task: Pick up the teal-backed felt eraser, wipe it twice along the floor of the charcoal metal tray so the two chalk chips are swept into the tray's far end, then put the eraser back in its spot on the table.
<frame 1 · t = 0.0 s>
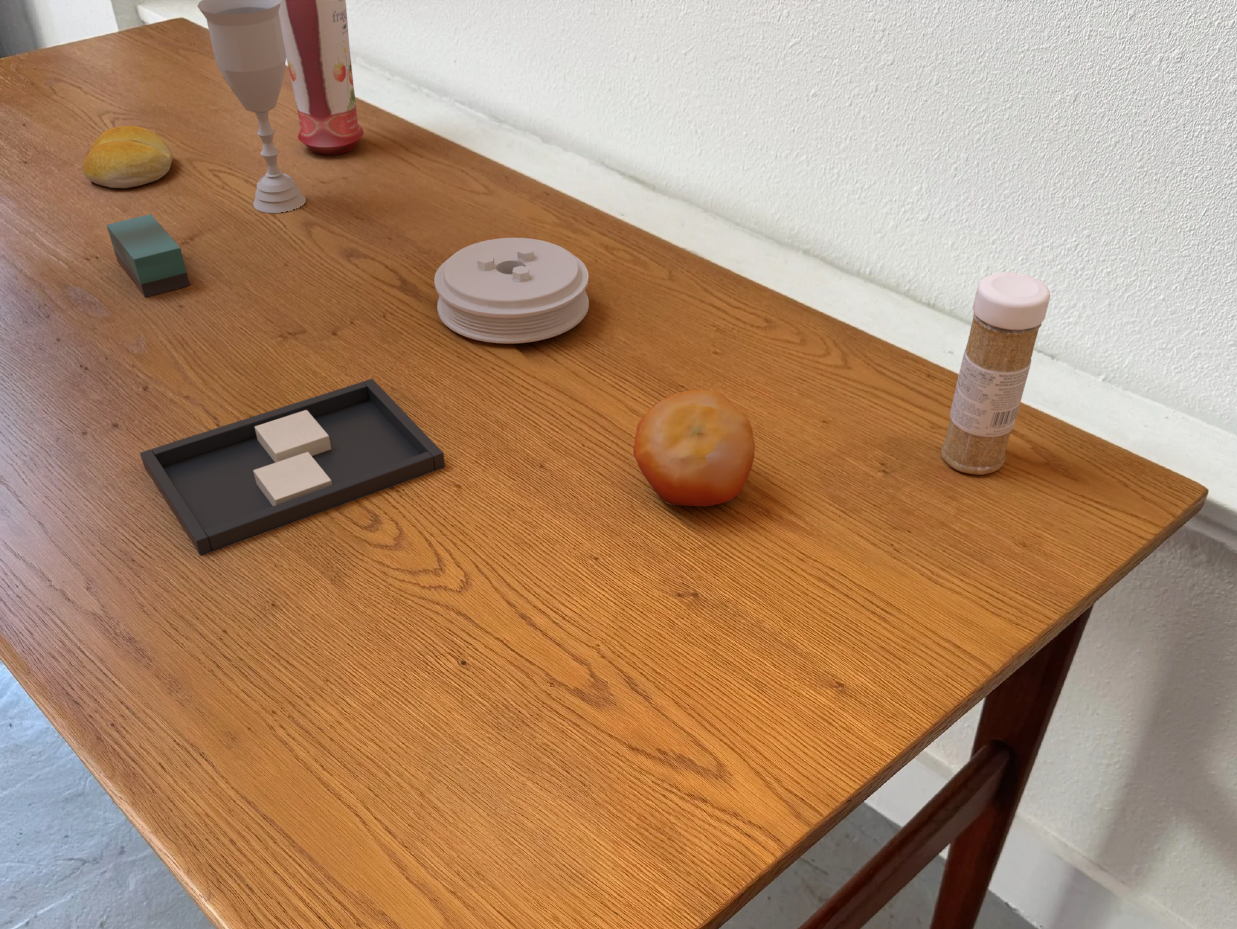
eraser: (153, 273, 105), on the table
chalice: (280, 203, 116), on the table
tray: (296, 472, 83), on the table
lid: (514, 317, 100), on the table
red and white bottle: (333, 148, 126), on the table
chip b: (294, 444, 85), resting on tray
chip a: (295, 489, 81), resting on tray
sprinkles bottle: (970, 461, 85), on the table
fruit: (691, 492, 82), on the table
bread roll: (131, 174, 121), on the table
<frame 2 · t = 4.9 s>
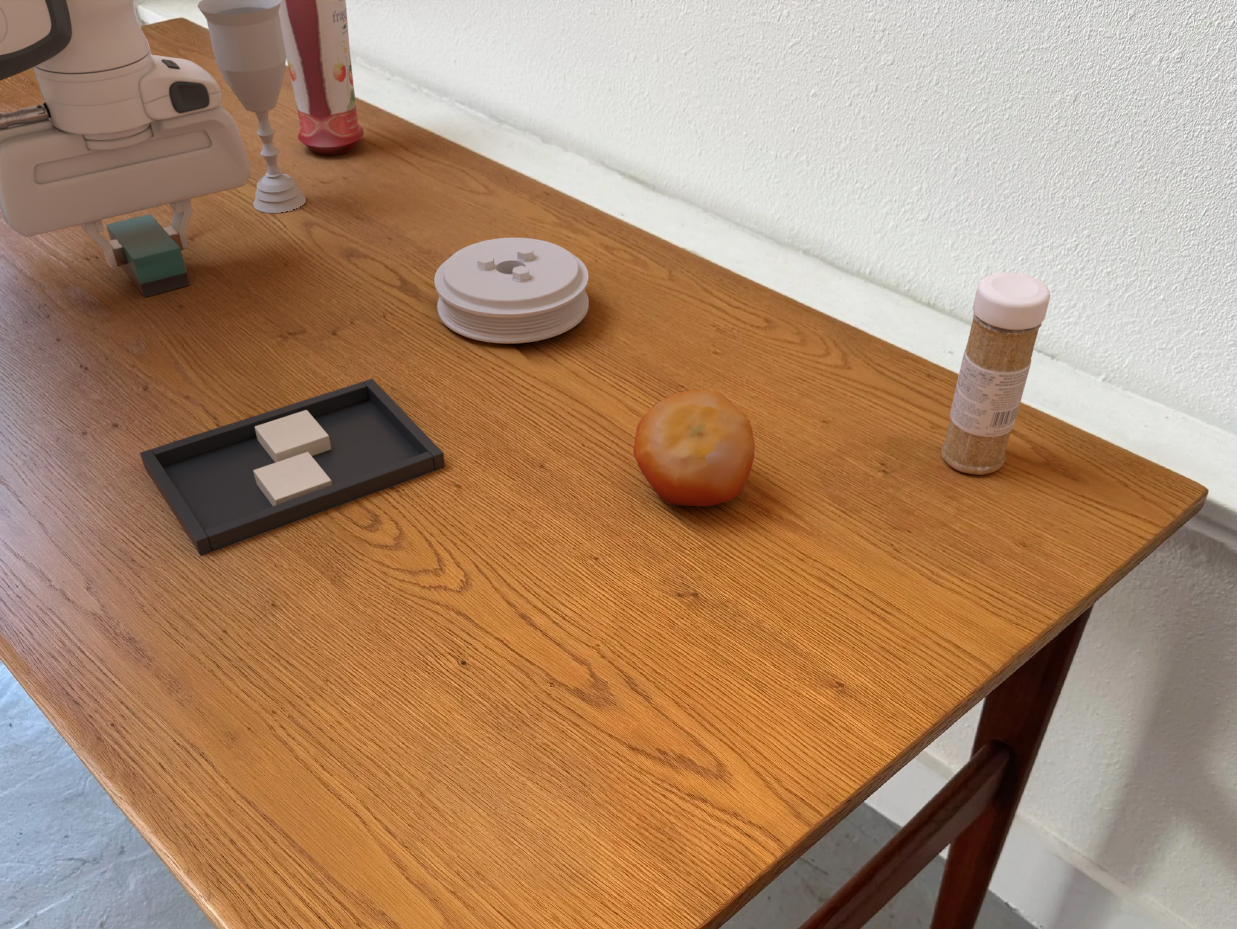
hand: (148, 256, 103), 2 cm above the table, tool pointing down, fingers closed on eraser, 4 cm apart
eraser: (153, 273, 105), on the table, touching gripper
everything else where it was.
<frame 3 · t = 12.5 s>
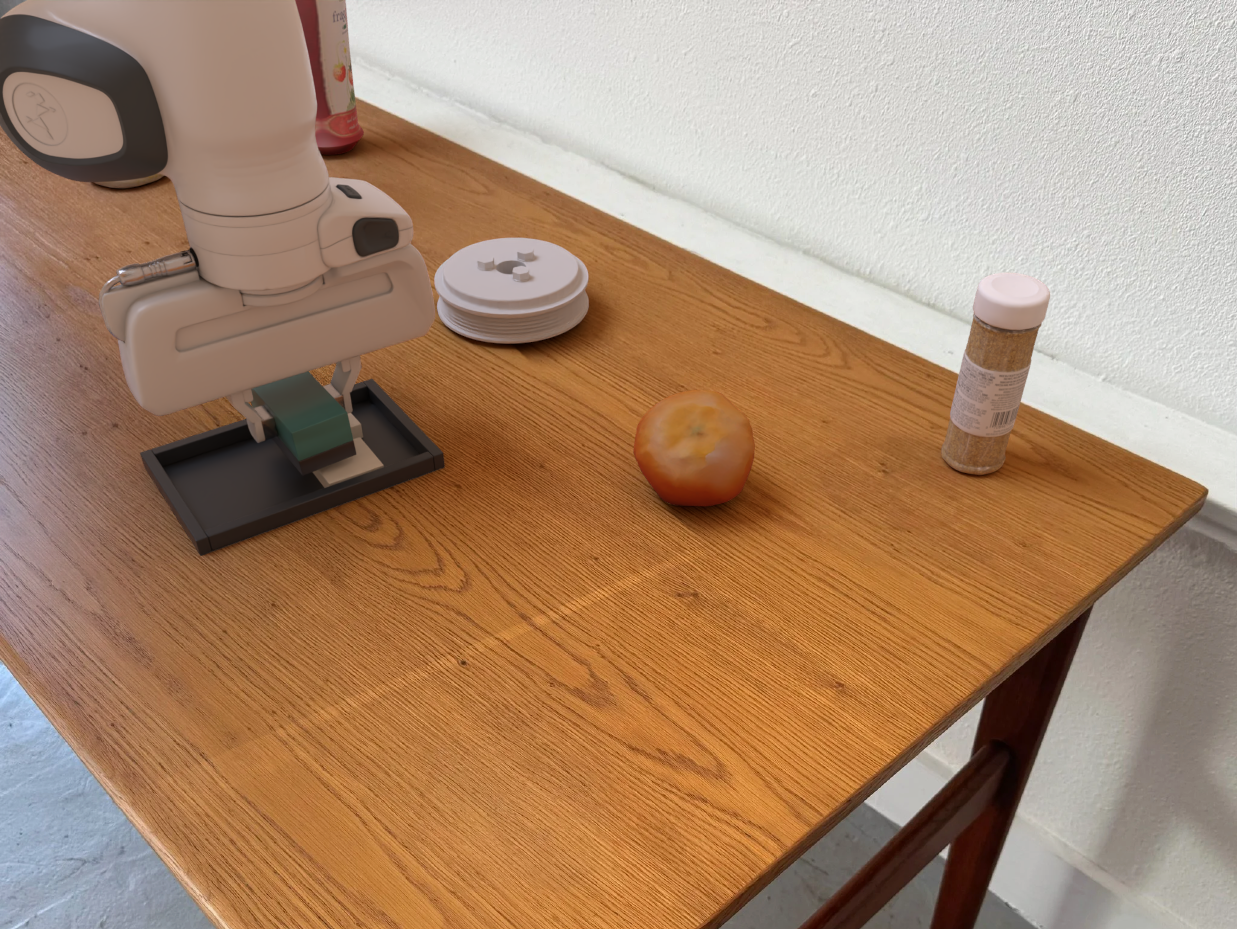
hand: (302, 423, 81), 4 cm above the table, tool pointing down, fingers closed on eraser, 4 cm apart
eraser: (305, 437, 82), point 2 cm above the table, touching gripper
chip b: (326, 433, 86), resting on tray
chip a: (347, 473, 82), resting on tray
everything else where it was.
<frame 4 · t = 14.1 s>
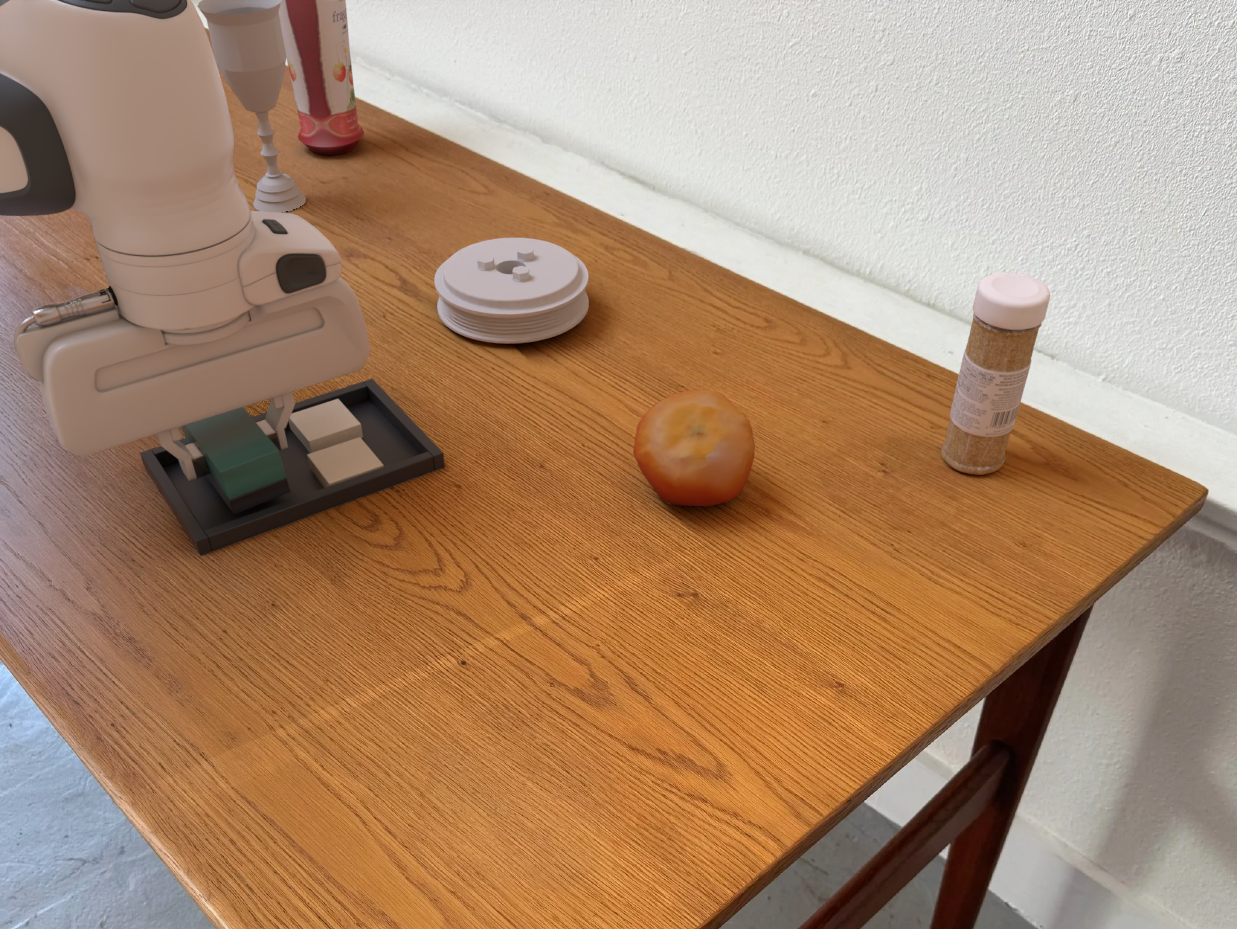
hand: (236, 460, 80), 3 cm above the table, tool pointing down, fingers closed on eraser, 4 cm apart
eraser: (240, 474, 80), point 1 cm above the table, touching gripper
everything else where it was.
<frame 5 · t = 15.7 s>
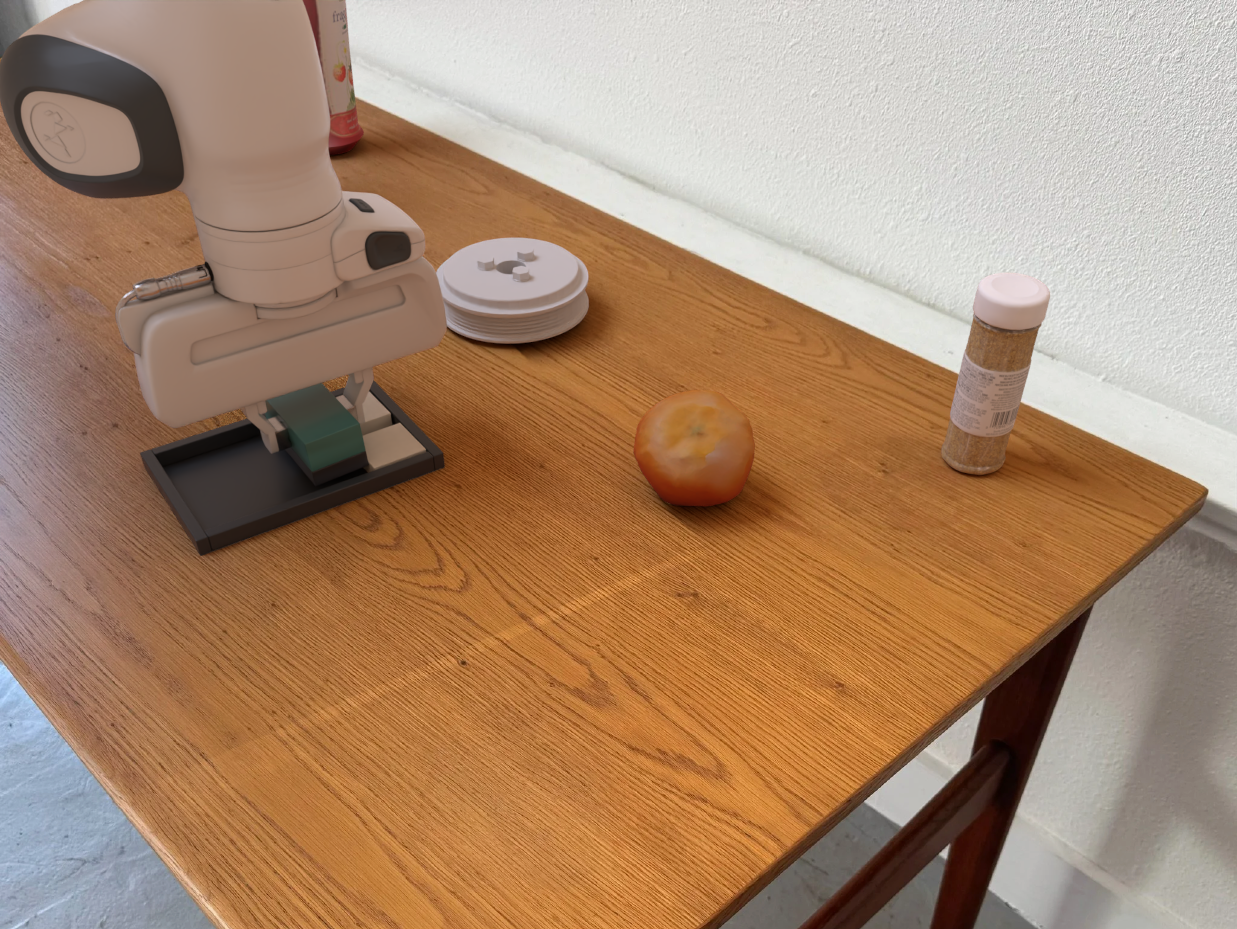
hand: (315, 434, 82), 3 cm above the table, tool pointing down, fingers closed on eraser, 4 cm apart
eraser: (318, 448, 83), point 1 cm above the table, touching chip a, gripper
chip b: (356, 422, 87), resting on tray
chip a: (389, 458, 83), resting on tray, touching eraser
everything else where it was.
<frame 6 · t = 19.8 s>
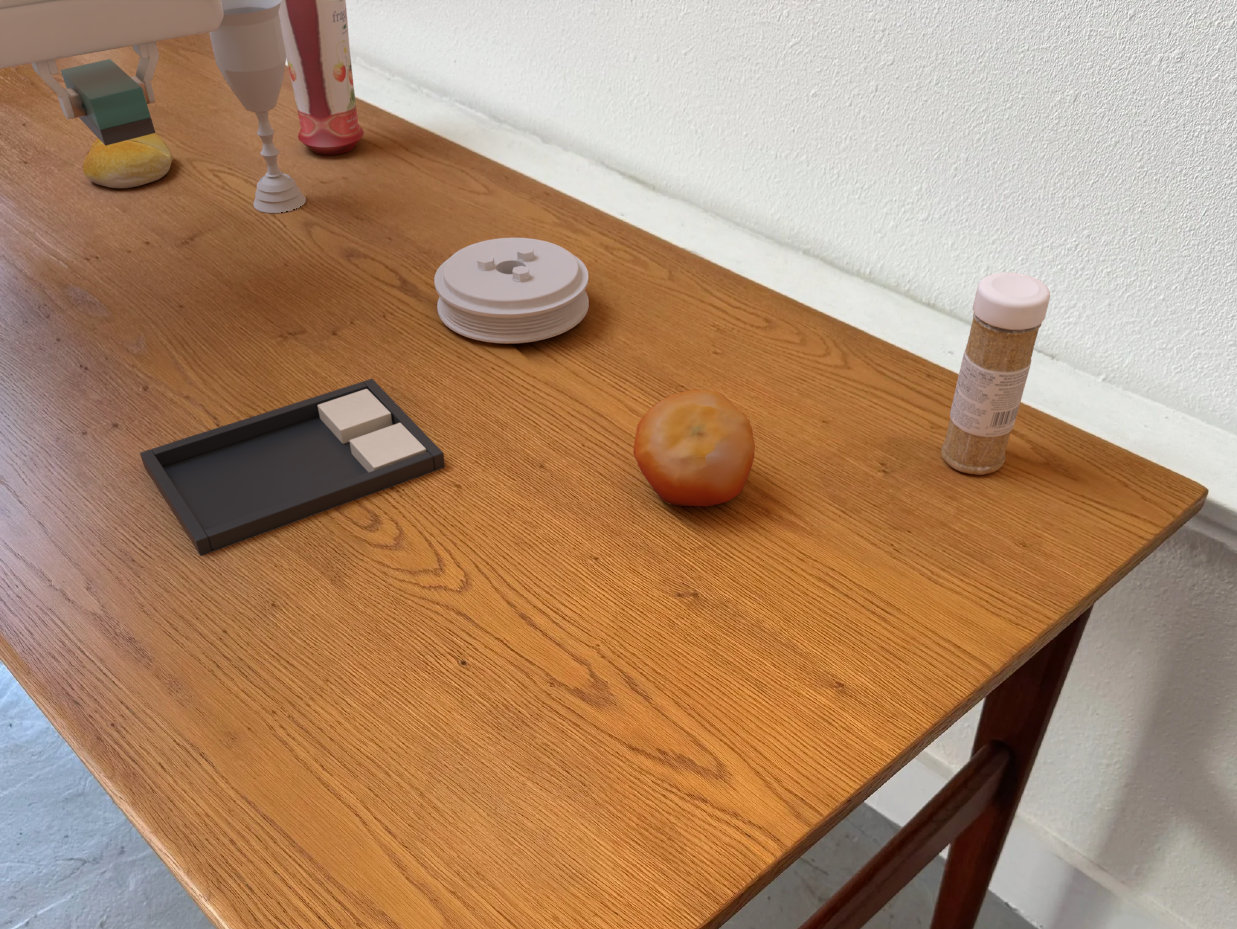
hand: (110, 109, 93), 15 cm above the table, tool pointing down, fingers closed on eraser, 4 cm apart
eraser: (115, 123, 94), point 14 cm above the table, touching gripper
chip a: (389, 458, 83), resting on tray
everything else where it was.
when the fingers open (1 cm above the table, at t = 23.2 s): eraser stays where it is, on the table.
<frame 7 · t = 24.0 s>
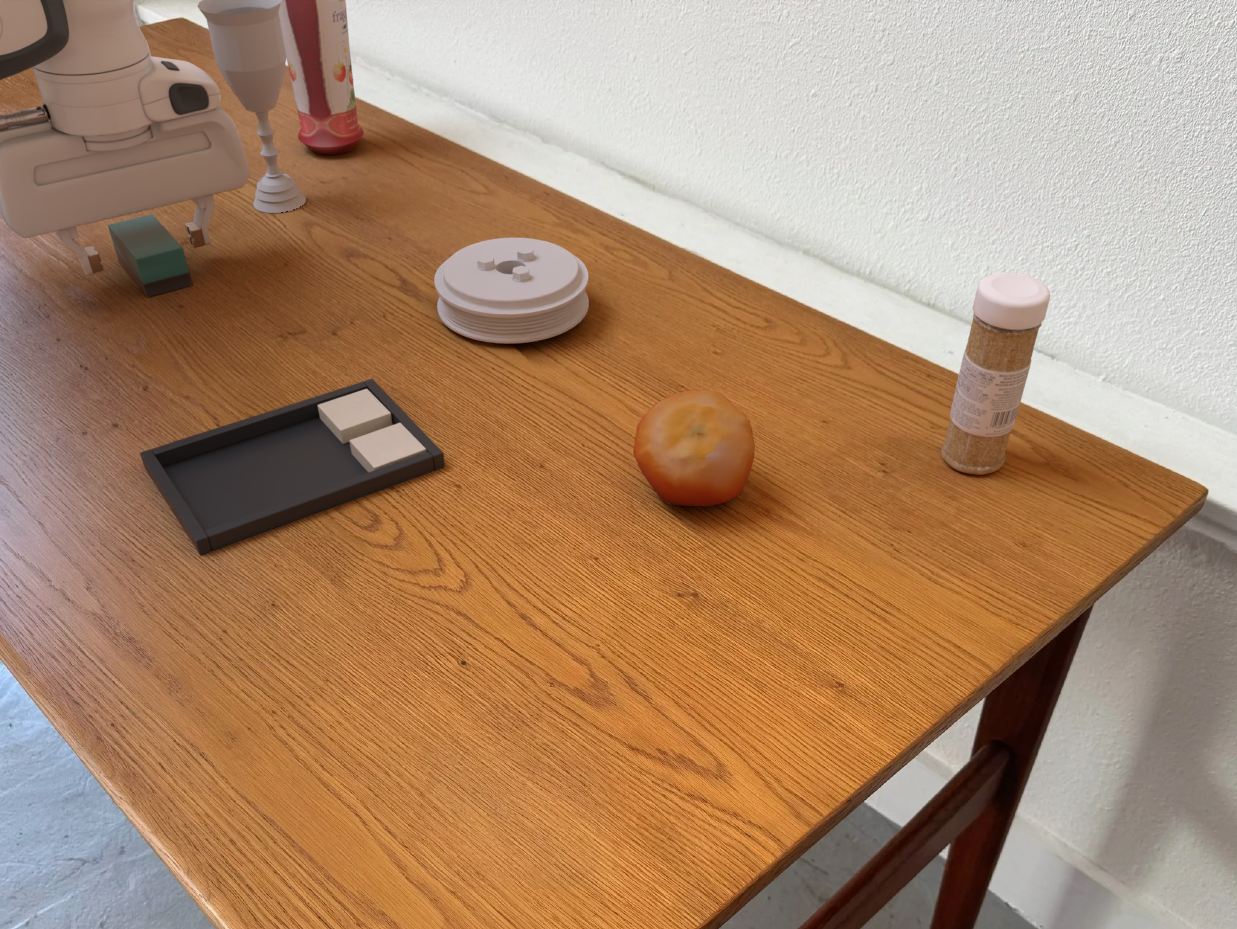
hand: (147, 257, 104), 1 cm above the table, tool pointing down, fingers open, 8 cm apart
eraser: (155, 273, 105), on the table
everything else where it was.
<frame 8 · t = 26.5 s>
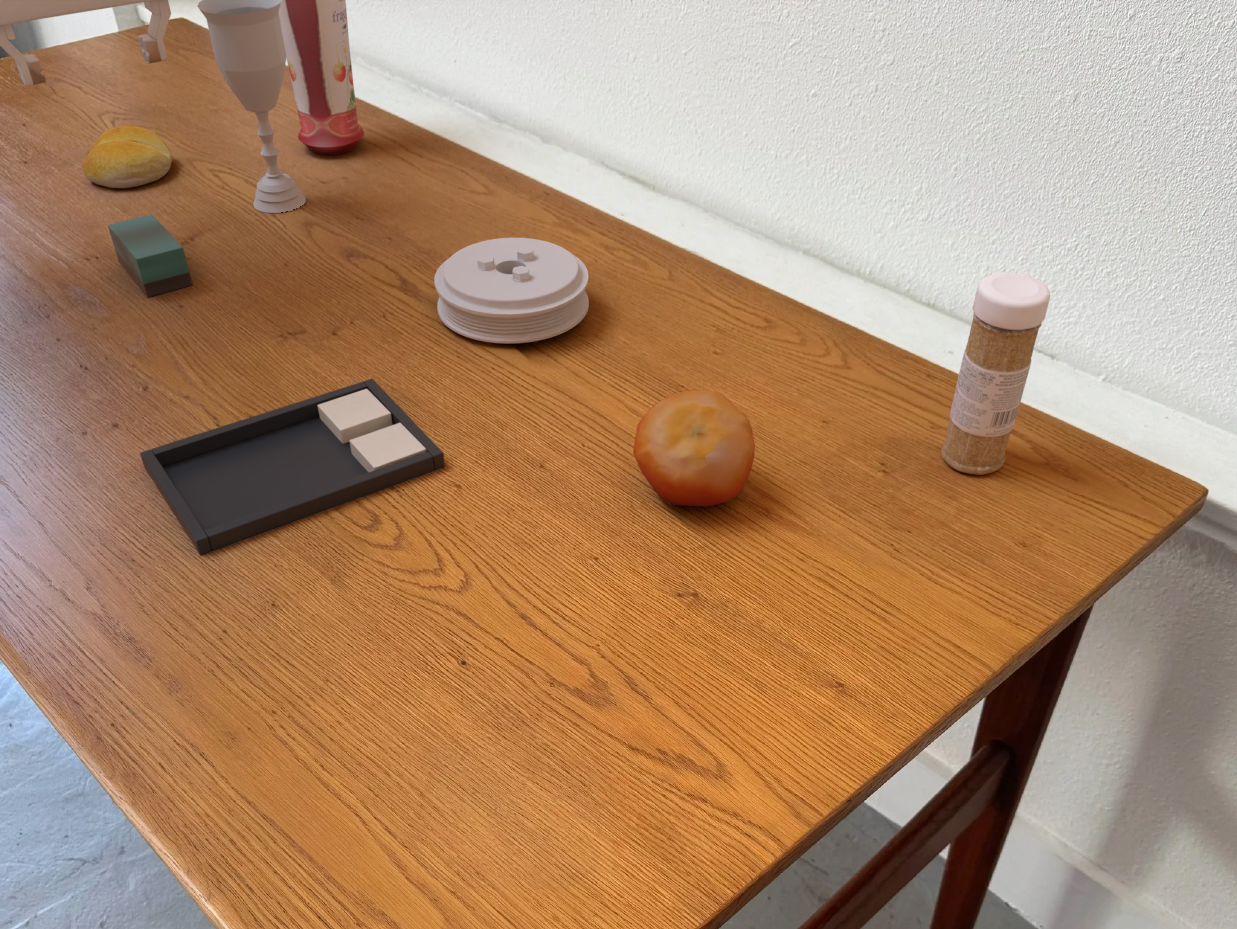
hand: (96, 71, 93), 17 cm above the table, tool pointing down, fingers open, 8 cm apart
nothing on the table moved.
at the end: chip a inside the target area in the tray (2.8 cm from its centre), point 0.5 cm above the tray's base; chip b inside the target area in the tray (2.7 cm from its centre), point 0.5 cm above the tray's base; eraser inside the target area (0.1 cm from its centre), on the table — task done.
